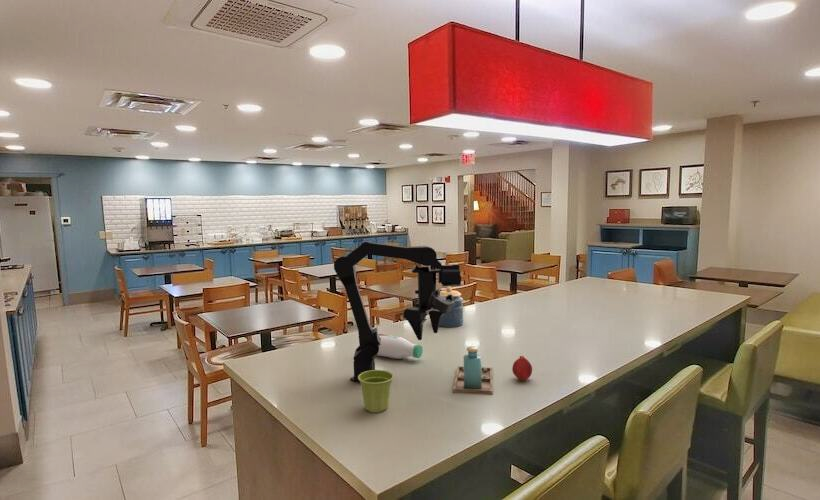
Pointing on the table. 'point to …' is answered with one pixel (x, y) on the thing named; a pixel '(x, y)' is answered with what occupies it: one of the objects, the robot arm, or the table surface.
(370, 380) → the plant pot
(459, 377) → the double tray
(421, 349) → the milk bottle
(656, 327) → the table surface
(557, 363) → the table surface
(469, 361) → the bottle
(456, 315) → the canister
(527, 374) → the onion
